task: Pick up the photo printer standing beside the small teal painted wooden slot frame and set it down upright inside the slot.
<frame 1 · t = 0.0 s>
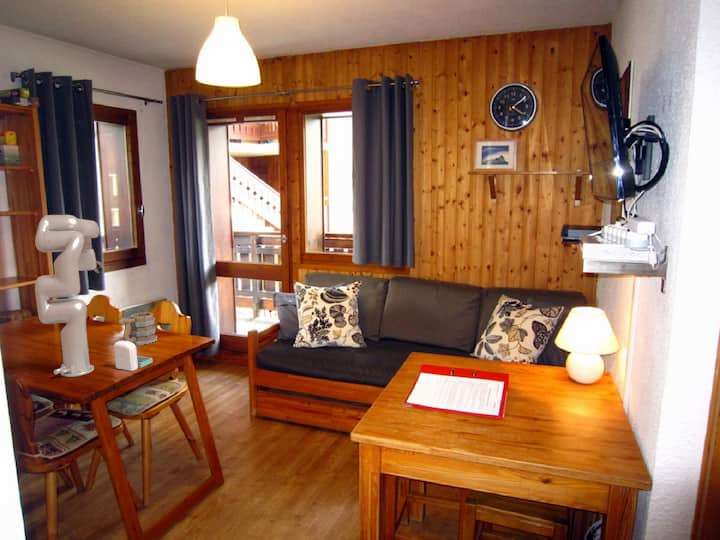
hand: (86, 281, 254), 31 cm above the table, tool pointing down, fingers open, 9 cm apart
slot frame: (135, 363, 228), on the table
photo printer: (126, 369, 222), on the table
tankard: (137, 343, 257), on the table
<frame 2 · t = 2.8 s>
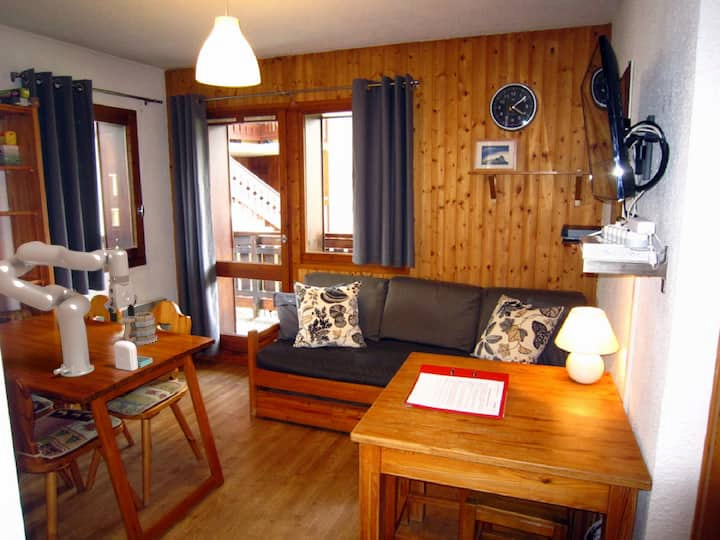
hand: (122, 318, 218), 22 cm above the table, tool pointing down, fingers open, 9 cm apart
nothing on the table moved.
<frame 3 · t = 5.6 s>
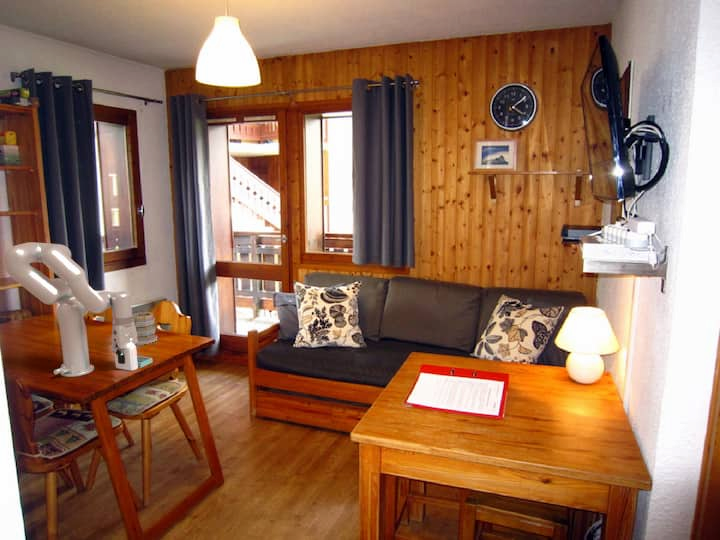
hand: (126, 361, 221), 3 cm above the table, tool pointing down, fingers closed on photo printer, 4 cm apart
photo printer: (126, 369, 222), on the table, touching gripper
everything else where it was.
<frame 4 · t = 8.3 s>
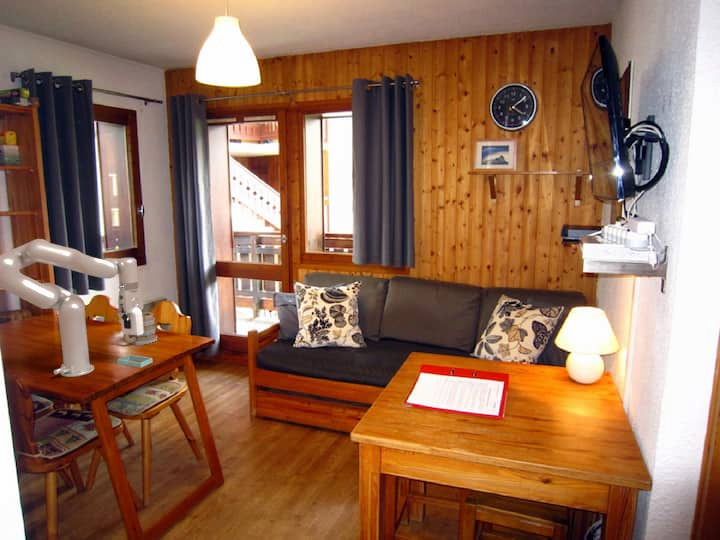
hand: (132, 326, 225), 17 cm above the table, tool pointing down, fingers closed on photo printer, 4 cm apart
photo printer: (132, 334, 226), point 13 cm above the table, touching gripper
everything else where it was.
when the fingers open (5 cm above the table, at t = 11.2 s): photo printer drops 1 cm, on the table.
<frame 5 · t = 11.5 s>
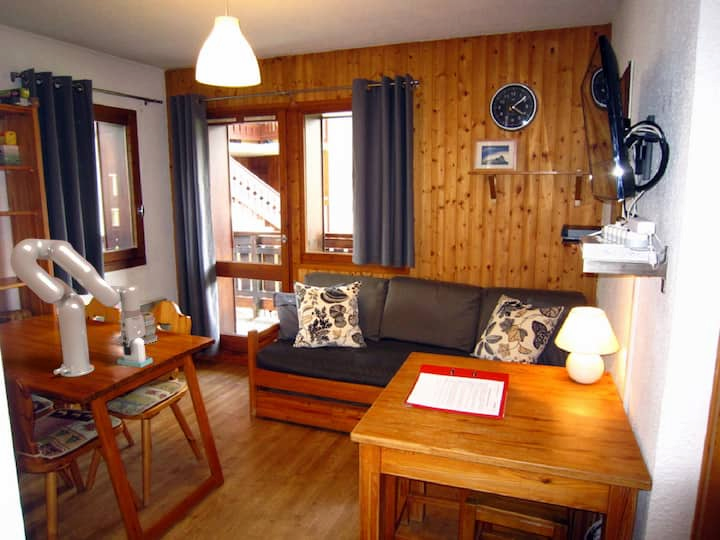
hand: (134, 352, 227), 5 cm above the table, tool pointing down, fingers open, 7 cm apart
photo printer: (135, 363, 228), on the table
everything else where it was.
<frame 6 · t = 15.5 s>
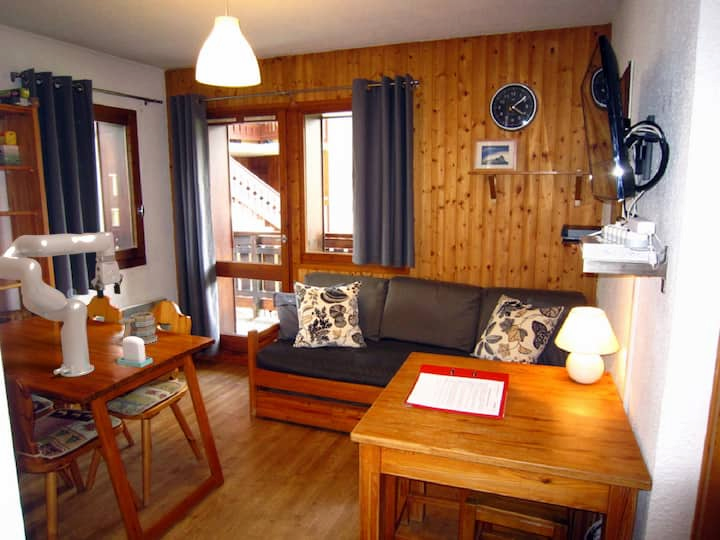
hand: (109, 296, 234), 28 cm above the table, tool pointing down, fingers open, 9 cm apart
nothing on the table moved.
at the end: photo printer 0.1 cm off-centre on the slot frame, point 0.0 cm above the slot frame's base; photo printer tilted 0°; the gripper is holding nothing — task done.
